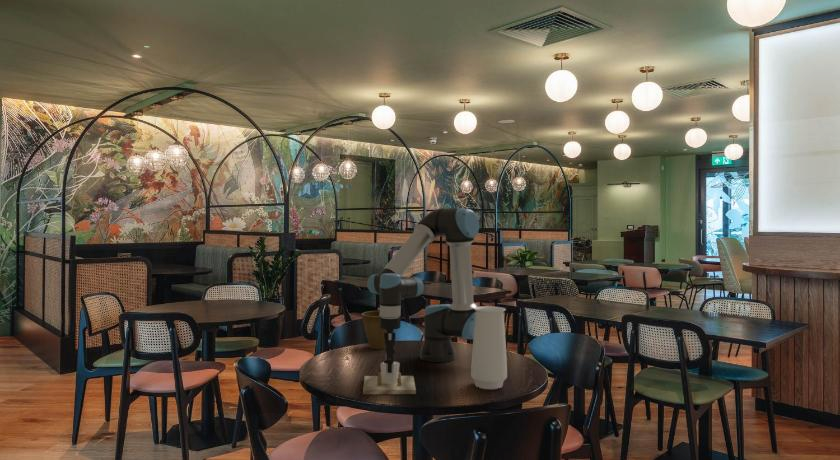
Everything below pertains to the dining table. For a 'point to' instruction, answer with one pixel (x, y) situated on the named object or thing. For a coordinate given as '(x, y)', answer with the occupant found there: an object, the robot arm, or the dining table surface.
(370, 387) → the pin board
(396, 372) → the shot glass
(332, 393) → the dining table surface
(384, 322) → the robot arm
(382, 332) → the plant pot
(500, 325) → the vase
